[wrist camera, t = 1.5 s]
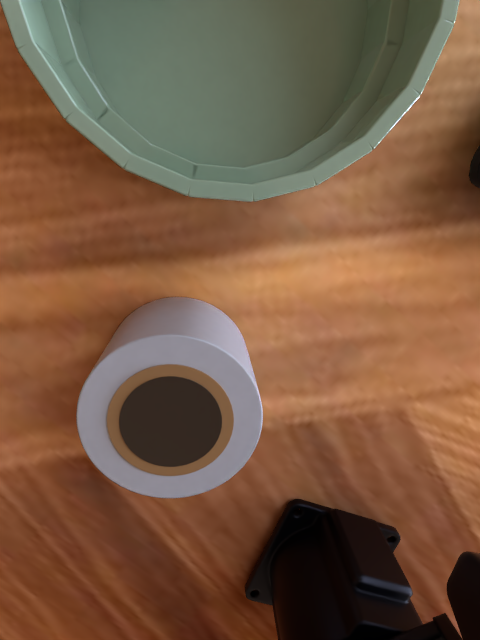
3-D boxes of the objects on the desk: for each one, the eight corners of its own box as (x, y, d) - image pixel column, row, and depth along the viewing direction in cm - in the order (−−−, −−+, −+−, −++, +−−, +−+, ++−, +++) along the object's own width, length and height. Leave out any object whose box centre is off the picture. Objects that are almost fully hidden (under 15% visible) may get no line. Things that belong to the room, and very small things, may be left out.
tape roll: (217, 440, 20) (222, 519, 15) (90, 400, 19) (51, 472, 14) (269, 326, 19) (293, 373, 14) (134, 275, 18) (108, 307, 13)
